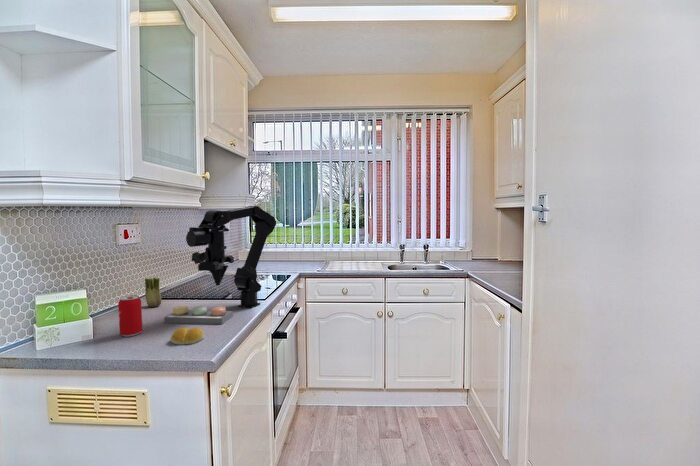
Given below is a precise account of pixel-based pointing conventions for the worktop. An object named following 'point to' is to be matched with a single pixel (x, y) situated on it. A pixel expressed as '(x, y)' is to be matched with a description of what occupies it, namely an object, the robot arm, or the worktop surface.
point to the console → (198, 318)
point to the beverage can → (130, 315)
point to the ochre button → (180, 310)
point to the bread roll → (187, 336)
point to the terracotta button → (218, 311)
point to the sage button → (199, 310)
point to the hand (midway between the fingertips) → (218, 285)
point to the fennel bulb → (152, 292)
